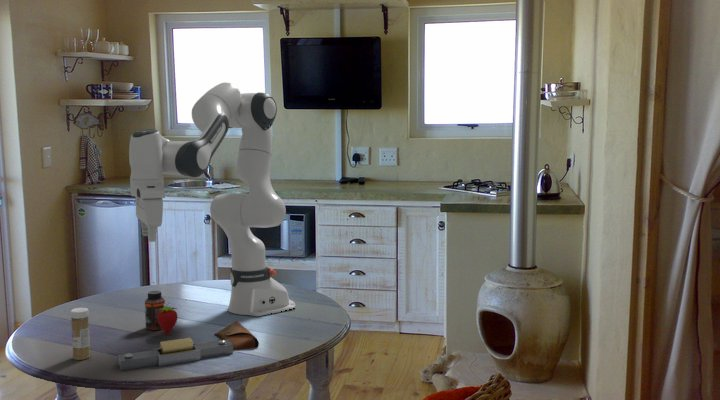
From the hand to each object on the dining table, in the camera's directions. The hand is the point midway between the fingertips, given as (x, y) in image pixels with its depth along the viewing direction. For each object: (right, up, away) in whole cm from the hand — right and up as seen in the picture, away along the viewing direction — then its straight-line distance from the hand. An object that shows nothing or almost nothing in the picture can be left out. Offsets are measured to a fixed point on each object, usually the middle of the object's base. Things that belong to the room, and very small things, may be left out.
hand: (149, 238), depth 200 cm
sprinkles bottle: (-17, -32, -5) cm, 37 cm away
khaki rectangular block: (+9, -32, -6) cm, 34 cm away
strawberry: (+1, -30, +15) cm, 33 cm away
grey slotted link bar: (+9, -32, -6) cm, 34 cm away
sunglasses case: (+22, -31, +10) cm, 39 cm away
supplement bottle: (-4, -29, +21) cm, 36 cm away
